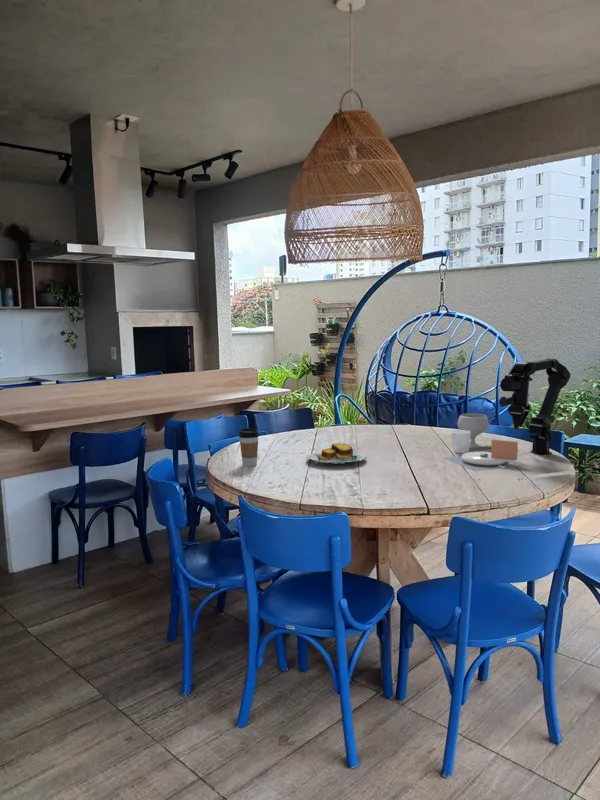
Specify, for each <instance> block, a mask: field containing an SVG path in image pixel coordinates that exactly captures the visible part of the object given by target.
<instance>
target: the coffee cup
mask: <svg viewBox="0 0 600 800" xmlns="http://www.w3.org/2000/svg"><path fill="white" fill-rule="evenodd" d="M238 437H239V448H240V454H241V461H242V466H243V467H247V466H248V467H250V466H251V467H255V465H256V466H257V464H258V450H259V437H260V435H259V430H258V429H255V428H250V427H249V428H241V429H239V434H238ZM251 467H250V468H251Z"/></svg>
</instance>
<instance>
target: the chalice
mask: <svg viewBox="0 0 600 800" xmlns="http://www.w3.org/2000/svg"><path fill="white" fill-rule="evenodd" d="M456 425H457V428H458V430H467V431H470V446H469V449H471V448H472V449H473V448H479V447H480V448H481V447H486V445H485V444H481V443H477V442H476V438H477V436H479V435H481V434H483V433H485V432H486V431H488V429H489V427H490V422H489V419H488V416H487V415H486V414H483V413H476V412H475V413H474V412H472V413H471V412H469V413H461V414H460V415H459V417H458V419H457V424H456Z"/></svg>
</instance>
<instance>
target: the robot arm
mask: <svg viewBox="0 0 600 800" xmlns="http://www.w3.org/2000/svg"><path fill="white" fill-rule="evenodd" d="M538 371H539V372H540V371H545V373H546V375H547V382H548V388H547V390H546V394H545V396H544V399H543V402H542V404H541V407H540V410H539V412H538V415H537V416H535V417H534V416H532V417H531V419H530V423H529V424H528V433H529V438H530V439H532V440H533V442H532V448H531V449H532V450H530V452H531V453H533V454H538V455H549V454H553V452H552V451H550V445H551V444H550V443H551V442H552V441H554V439H555V434H554V433H553V431H552V429H551V428H552V424H551V420H550V419H551V416H552V414H553V411H554V408H555V406H556V403H557V400H558V399H559V395H560V393H561V390H562V389H563V388H565V386H566V385H568V382H569V380H570V379H571V373H570V371H569V370H568V368H567V367H566V366H564V365H563V364H561V363H560V362H559V360H558V359H557V358H545V359H542V360H536V361H519V360H518V361H515V362H514V364H513V366H512V367H511V370H510V371H509V373H508V374H505V375H504V378H502V379H501V381H500V383H499V386H500V389H501V390H502V392H513V393H511V396H510V397H506V396H501V397H500V399H499V400H498V404H499V406H500V408H503V407H506V406H508V407H507V412H508V414H509V415H510V416H511V417H512V421H513V422H512V423H513V429H514V430H518V429H519V428H522V427H523V426H524V423H525V421H526V420H527V418H528V416H529V414H530V413H531V411H532V405H531V403H528V400H529V397H530V394H529V389H530V388H529V387H530V382H532V381H533V378H532V377H531V375H534V374H535V373H536V372H538Z"/></svg>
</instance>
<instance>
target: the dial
mask: <svg viewBox="0 0 600 800" xmlns="http://www.w3.org/2000/svg"><path fill="white" fill-rule="evenodd" d="M518 444H519V442H518V441H515V440H504V439H494V438H493V439H491V446H490V450H491V451H486V452H481V451H469V452H467V453H461V456H462V461H464V462H467V463H471V464H476V465H500V464H504V463H506V462H507V459H508V460H514V461H518V452H519V451H518V450H519V445H518Z"/></svg>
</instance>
